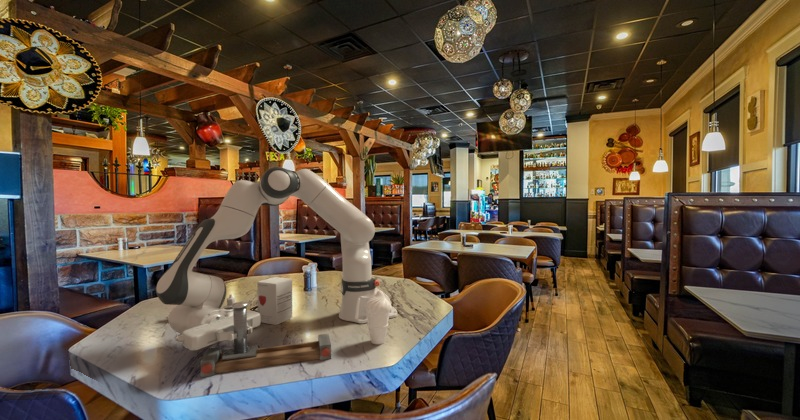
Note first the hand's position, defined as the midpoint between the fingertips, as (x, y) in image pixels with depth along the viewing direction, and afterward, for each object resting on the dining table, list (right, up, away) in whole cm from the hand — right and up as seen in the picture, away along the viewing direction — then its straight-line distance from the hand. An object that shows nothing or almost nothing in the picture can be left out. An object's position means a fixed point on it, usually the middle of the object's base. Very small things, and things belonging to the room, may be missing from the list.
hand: (242, 333), depth 88 cm
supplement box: (-4, -8, +35) cm, 36 cm away
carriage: (-1, -7, 0) cm, 7 cm away
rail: (+6, -8, +3) cm, 11 cm away
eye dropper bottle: (-16, -8, +26) cm, 32 cm away
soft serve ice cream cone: (+35, -8, +15) cm, 39 cm away
